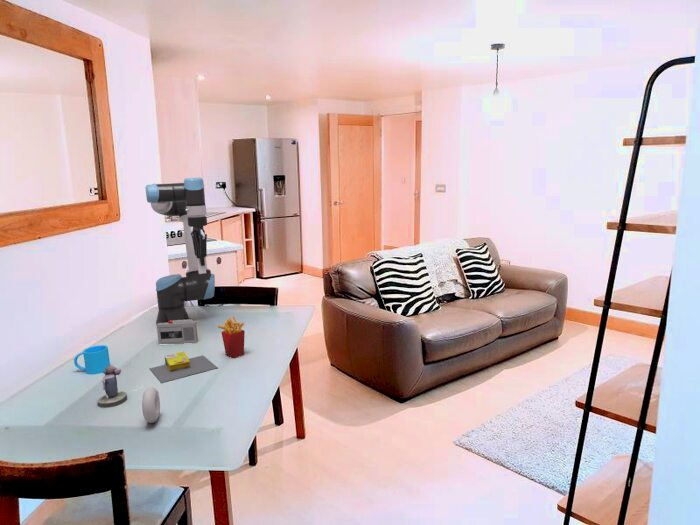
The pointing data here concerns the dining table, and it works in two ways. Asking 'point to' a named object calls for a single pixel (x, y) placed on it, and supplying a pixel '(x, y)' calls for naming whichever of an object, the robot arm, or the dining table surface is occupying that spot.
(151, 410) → the donut
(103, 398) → the figurine
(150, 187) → the robot arm
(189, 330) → the cassette player
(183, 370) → the mat
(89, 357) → the mug
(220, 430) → the dining table surface
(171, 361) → the crayon box
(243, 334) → the french fries
